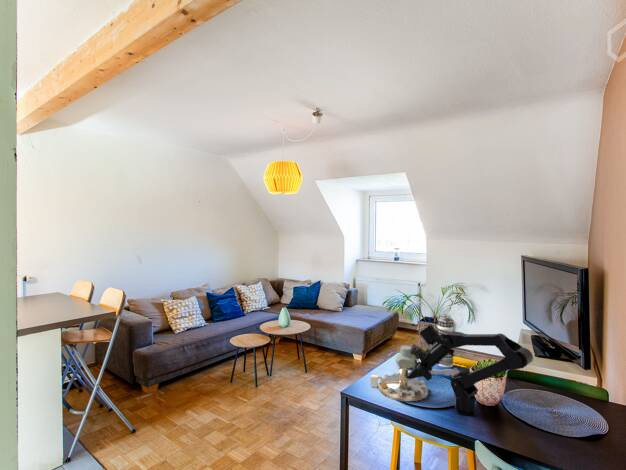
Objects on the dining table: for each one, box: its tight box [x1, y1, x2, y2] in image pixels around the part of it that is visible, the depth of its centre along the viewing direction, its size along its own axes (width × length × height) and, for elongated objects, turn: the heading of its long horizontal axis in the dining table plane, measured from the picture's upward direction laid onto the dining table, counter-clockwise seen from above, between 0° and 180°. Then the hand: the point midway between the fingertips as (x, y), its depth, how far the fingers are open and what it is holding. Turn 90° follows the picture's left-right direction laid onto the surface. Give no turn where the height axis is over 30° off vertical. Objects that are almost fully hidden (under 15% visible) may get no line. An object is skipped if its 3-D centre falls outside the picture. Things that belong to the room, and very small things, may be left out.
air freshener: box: [394, 345, 418, 370], centre depth 179 cm, size 11×8×10 cm
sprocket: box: [379, 367, 427, 397], centre depth 152 cm, size 19×19×10 cm
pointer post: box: [370, 374, 383, 389], centre depth 155 cm, size 5×2×5 cm, turn 74°
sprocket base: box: [378, 381, 429, 402], centre depth 152 cm, size 21×21×2 cm
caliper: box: [431, 367, 460, 378], centre depth 168 cm, size 20×1×6 cm, turn 56°
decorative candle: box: [435, 315, 454, 368], centre depth 183 cm, size 9×9×25 cm
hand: (408, 378), depth 146 cm, fingers closed, pressing on sprocket
